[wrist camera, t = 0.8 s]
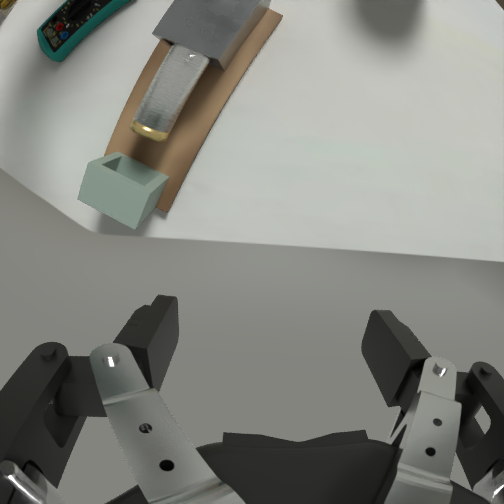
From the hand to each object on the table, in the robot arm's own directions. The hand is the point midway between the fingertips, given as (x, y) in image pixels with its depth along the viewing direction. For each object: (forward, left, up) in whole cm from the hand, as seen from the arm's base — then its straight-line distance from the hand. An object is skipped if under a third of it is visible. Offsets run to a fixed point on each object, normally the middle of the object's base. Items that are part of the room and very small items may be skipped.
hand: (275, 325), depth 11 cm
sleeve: (-13, +14, -22) cm, 29 cm away
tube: (-13, +10, -21) cm, 26 cm away
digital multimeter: (-31, +11, -24) cm, 41 cm away
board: (-13, +5, -23) cm, 27 cm away
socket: (-13, -6, -22) cm, 26 cm away
